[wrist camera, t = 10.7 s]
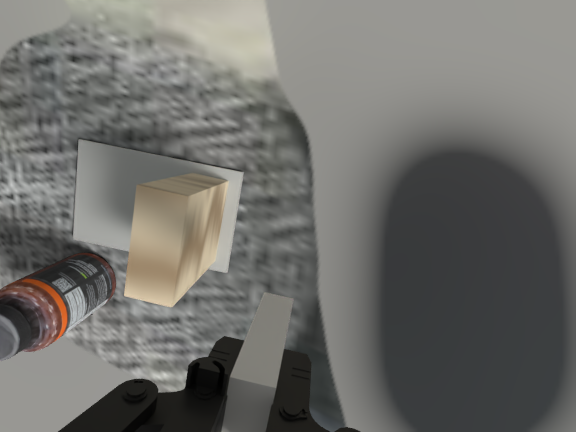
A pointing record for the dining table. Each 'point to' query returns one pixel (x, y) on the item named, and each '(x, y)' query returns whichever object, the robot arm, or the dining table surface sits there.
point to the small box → (173, 236)
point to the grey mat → (122, 189)
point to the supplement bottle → (52, 302)
